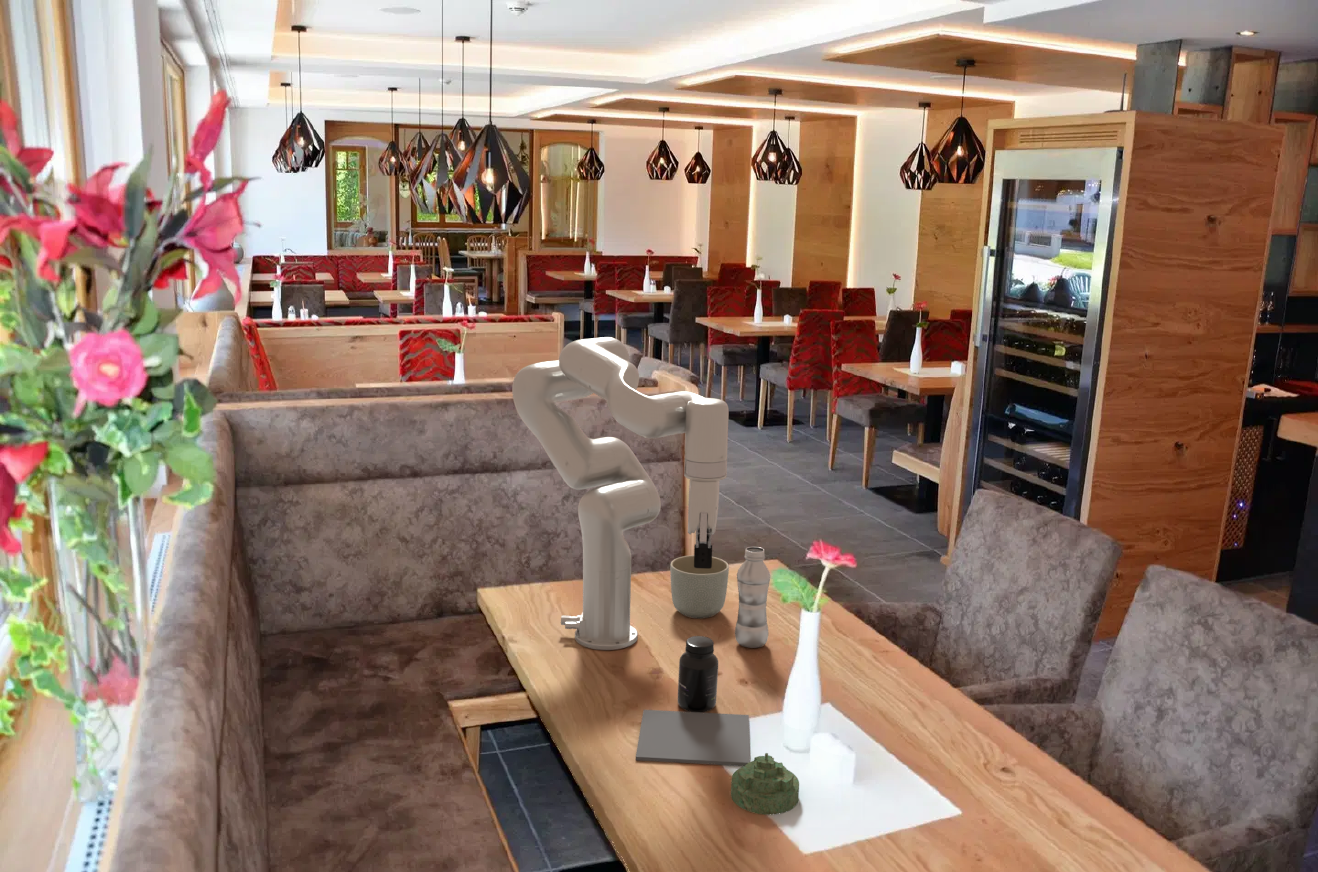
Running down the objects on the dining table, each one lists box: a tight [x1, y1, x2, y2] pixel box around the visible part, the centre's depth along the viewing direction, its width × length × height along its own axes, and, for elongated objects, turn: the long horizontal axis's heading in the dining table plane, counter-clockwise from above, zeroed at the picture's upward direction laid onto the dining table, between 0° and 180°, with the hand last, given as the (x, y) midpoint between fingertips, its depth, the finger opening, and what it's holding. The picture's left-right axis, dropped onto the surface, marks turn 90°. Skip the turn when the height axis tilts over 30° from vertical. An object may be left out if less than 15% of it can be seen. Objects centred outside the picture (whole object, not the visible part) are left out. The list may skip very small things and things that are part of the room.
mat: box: [635, 709, 751, 767], centre depth 175 cm, size 18×16×1 cm
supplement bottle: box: [677, 635, 719, 713], centre depth 185 cm, size 7×7×12 cm
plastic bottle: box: [734, 546, 771, 649], centre depth 210 cm, size 6×7×20 cm
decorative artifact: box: [730, 752, 800, 816], centre depth 158 cm, size 10×7×10 cm
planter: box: [669, 554, 730, 619], centre depth 228 cm, size 12×12×11 cm
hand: (702, 566), depth 193 cm, fingers closed
